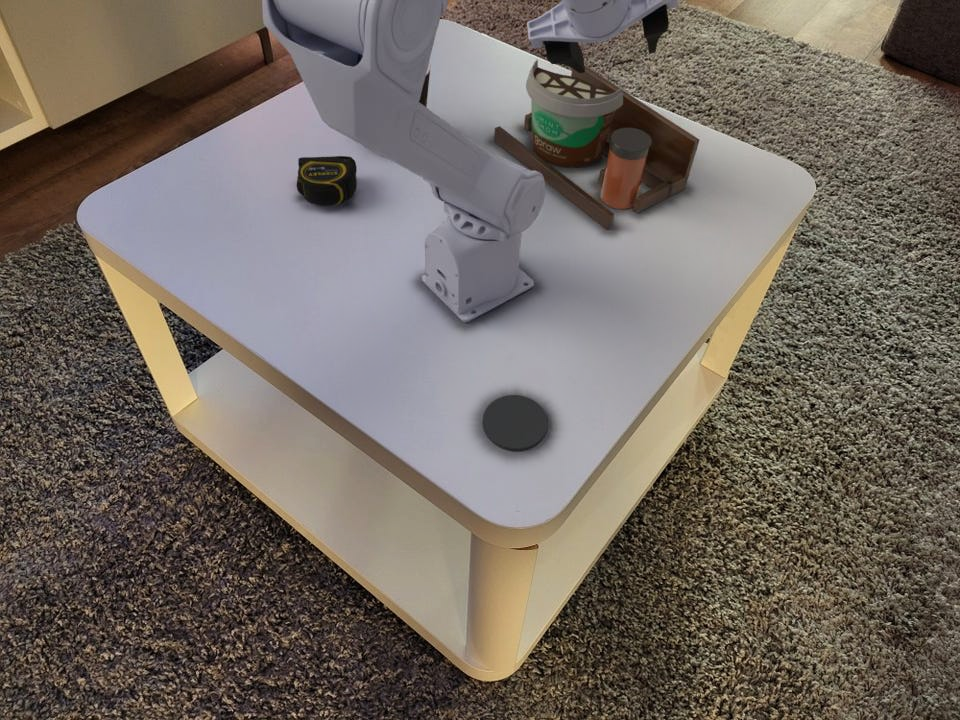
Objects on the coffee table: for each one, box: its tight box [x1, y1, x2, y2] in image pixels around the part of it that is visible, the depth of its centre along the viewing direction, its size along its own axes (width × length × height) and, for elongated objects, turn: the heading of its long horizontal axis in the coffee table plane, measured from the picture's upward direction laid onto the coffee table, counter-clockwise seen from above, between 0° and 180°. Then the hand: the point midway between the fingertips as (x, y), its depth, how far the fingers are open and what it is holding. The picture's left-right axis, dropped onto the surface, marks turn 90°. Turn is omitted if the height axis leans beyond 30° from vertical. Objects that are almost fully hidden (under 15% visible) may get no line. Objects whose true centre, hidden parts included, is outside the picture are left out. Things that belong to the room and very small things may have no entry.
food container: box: [525, 59, 623, 169], centre depth 92 cm, size 12×6×10 cm, turn 59°
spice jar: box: [600, 128, 652, 210], centre depth 88 cm, size 5×5×8 cm
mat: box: [482, 394, 549, 452], centre depth 70 cm, size 6×6×1 cm
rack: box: [493, 65, 700, 230], centre depth 93 cm, size 13×21×7 cm, turn 37°
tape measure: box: [296, 155, 358, 207], centre depth 89 cm, size 7×7×4 cm
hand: (615, 54), depth 82 cm, fingers open, 7 cm apart
